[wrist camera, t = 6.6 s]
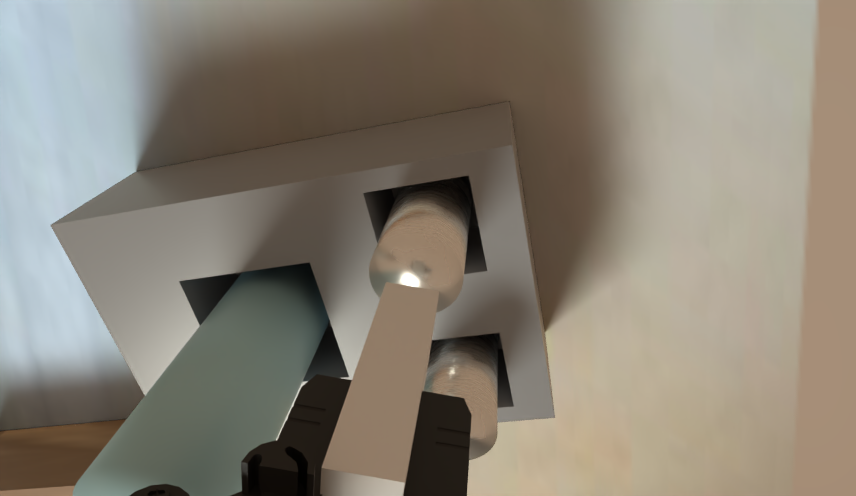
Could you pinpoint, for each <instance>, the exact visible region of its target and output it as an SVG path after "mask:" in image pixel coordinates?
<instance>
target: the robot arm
mask: <svg viewBox="0 0 856 496" xmlns="http://www.w3.org/2000/svg"><path fill="white" fill-rule="evenodd" d="M438 298H439V291H437V290H431V289H425V288H419V287H413V286H407V285H401V284H395V283H389V282H386V284H385V287H384V290H383V293H382V295H381V298H380V301H379V304H378V307H377V310H376V313H375V316H374V318H373V321H372V324H371V327H370V330H369V333H368V336H367V338H366V341H365V344H364V347H363V350H362V353H361V356H360V359H359V361H358V364H357V367H356V370H355V373H354V376H353V379H352V380H348V379H342V378H337V377H331V376H325V375H319V374H316V375H315V376H314V377H313V378H311V379H310V380H309V381H308V382H307V383H306V384H304V385H303V386H302V387H301V389H300V391H299V394H298V396H297V398H296V400H295V402H294V406H293V407H292V409H291V411H290V413H289V415H288V419H287V420H286V422H285V424H284V426H283V428H282V431H281V433H280V435H279V437H278V439H277V440H275V441H271V442H267V443H264V444H261V445H259V446H257V447H256V448H254V449H253V450H251V451H249V452H248V454H247V455H246V456H245V458H244V459H243V460H242V461H241V477H242V491H240V492H238V493H236V494H233V495H231V496H467V482H468V466H469V448H470V433H471V418H472V415H471V413H470V410H469V408H468V406H467V404H466V402H465V399H464V398H461V397H455V396H449V395H443V394H438V393H432V392H426V391H424V385H425V380H426V374H427V368H428V362H429V355H430V349H431V342H432V336H433V330H434V323H435V317H436V310H437V304H438ZM130 496H190V495H189V494H188V493H187V492H186V491H184V490H183V489H182V488H180V487H178V486H174V485H169V484H159V485H150V486H148V487H145V488H143V489H140V490H138V491H135V492H134V493H132V494H131V495H130Z"/></svg>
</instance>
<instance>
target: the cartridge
mask: <svg viewBox="0 0 856 496" xmlns="http://www.w3.org/2000/svg"><path fill="white" fill-rule="evenodd" d="M329 322H330V320H329V317H328V314H327V311H326V308H325V305H324V302H323V300H322V297H321V294H320V291H319V288H318V285H317V282H316V279H315V276H314V274H313V271H312V268H311V265H310V262H309V263H302V264H295V265H288V266H281V267H274V268H267V269H260V270H253V271H246V272H242V273H241V275H240V276H239V277H238V278H237V280H236V281H235V282H234V283H233V285H232V286H231V287H230V289H229V290H228V291H227V292H226V294H225V295H224V296H223V297H222V299H221V300H220V301H219V302H218V304H217V305H216V306H215V308H214V309H213V310H212V311H211V313H210V314H209V315H208V316H207V318H206V319H205V320H204V322H203V323H202V324H201V325H200V327H199V328H198V329H197V330H196V332H195V333H194V334H193V335H192V337H191V338H190V339H189V341H188V342H187V343H186V344H185V346H184V347H183V348H182V349H181V351H180V352H179V353H178V355H177V356H176V357H175V358H174V360H173V361H172V362H171V363H170V365H169V366H168V367H167V368H166V370H165V371H164V372H163V374H162V375H161V376H160V377H159V379H158V380H157V381H156V382H155V384H154V385H153V386H152V388H151V389H150V390H149V391H148V393H147V394H146V395H145V396H144V398H143V399H142V400H141V402H140V403H139V404H138V405H137V407H136V408H135V409H134V410H133V412H132V413H131V414H130V415H129V417H128V418H127V419H126V421H125V422H124V423H123V424H122V426H121V427H120V428H119V429H118V431H117V432H116V433H115V435H114V436H113V437H112V438H111V440H110V441H109V442H108V443H107V445H106V446H105V447H104V448H103V450H102V451H101V452H100V454H99V455H98V456H97V457H96V459H95V460H94V461H93V462H92V464H91V465H90V466H89V468H88V469H87V470H86V471H85V473H84V474H83V475H82V476H81V478H80V479H79V480H78V482H77V483H76V485H75V487H74V490H73V496H130V495H131V494H132V493H134V492H135V491H138V490H140V489H143V488H145V487H148V486H150V485H159V484H169V485H174V486H178V487H180V488H182V489H183V490H184V491H186V492H187V493H188V494H189V495H190V496H231V495H233V494H236V493H238V492H240V491H242V477H241V461H242V460H243V459H244V458H245V456H246V455H247V454H248V452H249V451H251V450H253V449H254V448H256V447H257V446H259V445H261V444H264V443H267V442H271V441H275V440H276V439H277V437H278V434H279V432H280V430H281V428H282V426H283V423H284V421H285V419H286V417H287V415H288V412H289V410H290V408H291V406H292V403H293V401H294V399H295V397H296V395H297V392H298V390H299V388H300V386H301V384H302V381H303V379H304V377H305V375H306V372H307V370H308V368H309V366H310V364H311V361H312V359H313V357H314V355H315V353H316V350H317V348H318V346H319V344H320V341H321V339H322V337H323V335H324V333H325V330H326V328H327V326H328V324H329Z"/></svg>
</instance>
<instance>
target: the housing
mask: <svg viewBox="0 0 856 496" xmlns="http://www.w3.org/2000/svg"><path fill="white" fill-rule="evenodd" d="M456 177H461V178H462V179H463V180H464V182H465V183H466V184H467V186H468V188H469V191H470V194H471V200H472V203H471V214H470V223H469V232H468V242H467V251H466V260H465V269H464V279H463V285H462V289H461V291H460V293H459V295H458V297H457V298H456V300H455V301H454V302H453V303H452V304H451V305H450V306H448V307H447V308H445V309H444V310H442V311H440V312H438V313H436V317H435V323H434V330H433V336H432V340H439V339H448V338H457V337H466V336H475V335H483V334H492V333H498V391H497V422H508V421H520V420H532V419H545V418H555V415H554V406H553V397H552V389H551V380H550V372H549V363H548V354H547V346H546V337H545V330H544V323H543V317H542V310H541V304H540V297H539V291H538V284H537V277H536V271H535V264H534V258H533V251H532V245H531V238H530V232H529V225H528V219H527V212H526V206H525V199H524V193H523V186H522V180H521V173H520V167H519V160H518V154H517V147H516V140H515V134H514V127H513V121H512V114H511V108H510V101H509V102H503V103H498V104H493V105H488V106H482V107H477V108H472V109H466V110H461V111H456V112H450V113H445V114H440V115H434V116H429V117H424V118H419V119H413V120H408V121H403V122H397V123H392V124H387V125H381V126H376V127H371V128H365V129H360V130H355V131H350V132H344V133H339V134H334V135H328V136H323V137H318V138H312V139H307V140H302V141H296V142H291V143H286V144H281V145H275V146H270V147H265V148H259V149H254V150H249V151H243V152H238V153H233V154H227V155H222V156H217V157H212V158H206V159H201V160H196V161H190V162H185V163H180V164H174V165H169V166H164V167H158V168H153V169H148V170H143V171H137V172H134V173H133V174H131V175H130V176H128V177H126V178H125V179H123V180H122V181H120V182H118V183H117V184H115V185H114V186H112V187H110V188H109V189H107V190H106V191H104V192H103V193H101V194H99V195H98V196H96V197H95V198H93V199H91V200H90V201H88V202H87V203H85V204H83V205H82V206H80V207H79V208H77V209H75V210H74V211H72V212H71V213H69V214H67V215H66V216H64V217H63V218H61V219H59V220H58V221H56V222H55V223H53V224H52V225H51V227H52V229H53V231H54V232H55V234H56V236H57V238H58V240H59V241H60V243H61V245H62V247H63V249H64V250H65V252H66V254H67V256H68V258H69V260H70V261H71V263H72V265H73V267H74V269H75V270H76V272H77V274H78V276H79V278H80V279H81V281H82V283H83V285H84V287H85V289H86V290H87V292H88V294H89V296H90V298H91V299H92V301H93V303H94V305H95V307H96V308H97V310H98V312H99V314H100V316H101V318H102V319H103V321H104V323H105V325H106V327H107V328H108V330H109V332H110V334H111V336H112V337H113V339H114V341H115V343H116V345H117V347H118V348H119V350H120V352H121V354H122V356H123V357H124V359H125V361H126V363H127V365H128V366H129V368H130V370H131V372H132V374H133V375H134V377H135V379H136V381H137V383H138V385H139V386H140V388H141V390H142V392H143V394H144V395H146V394H147V393H148V391H149V390H150V389H151V388H152V386H153V385H154V384H155V382H156V381H157V380H158V379H159V377H160V376H161V375H162V374H163V372H164V371H165V370H166V368H167V367H168V366H169V365H170V363H171V362H172V361H173V360H174V358H175V357H176V356H177V355H178V353H179V352H180V351H181V349H182V348H183V347H184V346H185V344H186V343H187V342H188V341H189V339H190V338H191V337H192V335H193V334H194V333H195V332H196V330H197V329H198V328H199V327H200V325H201V324H202V323H203V322H204V320H205V319H206V318H207V316H208V315H209V314H210V313H211V311H212V310H213V309H214V308H215V306H216V305H217V304H218V302H219V301H220V300H221V299H222V297H223V296H224V295H225V294H226V292H227V291H228V290H229V289H230V287H231V286H232V285H233V283H234V282H235V281H236V280H237V278H238V277H239V276H240V275H241V273H242V272H246V271H253V270H260V269H267V268H274V267H281V266H288V265H295V264H302V263H309V262H310V265H311V268H312V271H313V274H314V276H315V279H316V282H317V285H318V288H319V291H320V294H321V297H322V300H323V302H324V305H325V308H326V311H327V314H328V317H329V320H330V322H329V324H328V326H327V328H326V330H325V333H324V335H323V337H322V339H321V341H320V344H319V346H318V348H317V350H316V353H315V355H314V357H313V359H312V361H311V364H310V366H309V368H308V370H307V372H306V375H305V377H304V379H303V381H302V384H301V386H300V388H299V390H298V392H297V395H296V397H295V399H294V401H293V403H292V406H291V408H290V410H289V412H288V415H289V413H290V411H291V409H292V407H293V406H294V402H295V400H296V398H297V396H298V394H299V391H300V389H301V387H302V386H303V385H304V384H306V383H307V382H308V381H309V380H310V379H311V378H313V377H314V376H315V375H316V374H319V375H325V376H331V377H337V378H342V379H348V380H352V379H353V376H354V373H355V370H356V367H357V364H358V361H359V359H360V356H361V353H362V350H363V347H364V344H365V341H366V338H367V336H368V333H369V330H370V327H371V324H372V321H373V318H374V316H375V313H376V310H377V307H378V304H379V301H380V298H379V297H378V296H377V294H376V293H375V291H374V289H373V288H372V285H371V282H370V278H369V265H370V261H371V258H372V256H373V253H374V251H375V248H376V246H377V243H378V241H379V238H380V236H381V233H382V231H383V229H384V226H385V224H386V221H387V219H388V216H389V214H390V211H391V209H392V206H393V204H394V202H395V199H396V197H397V194H398V192H399V189H400V187H402V186H408V185H414V184H420V183H426V182H432V181H438V180H444V179H450V178H456ZM288 415H287V417H286V419H285V421H284V423H283V426H284V424H285V422H286V420H287V419H288ZM283 426H282V428H283ZM282 428H281V430H280V432H279V434H278V437H279V435H280V433H281V431H282ZM278 437H277V439H278ZM277 439H276V440H277Z"/></svg>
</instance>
